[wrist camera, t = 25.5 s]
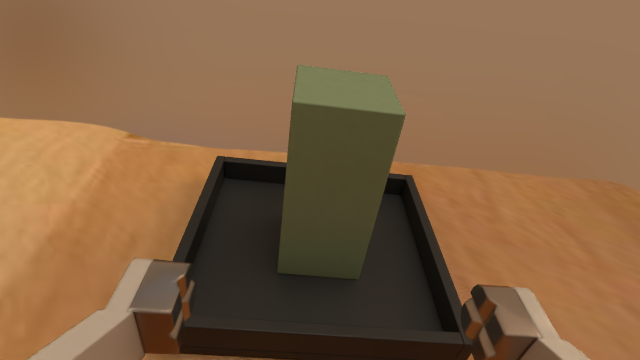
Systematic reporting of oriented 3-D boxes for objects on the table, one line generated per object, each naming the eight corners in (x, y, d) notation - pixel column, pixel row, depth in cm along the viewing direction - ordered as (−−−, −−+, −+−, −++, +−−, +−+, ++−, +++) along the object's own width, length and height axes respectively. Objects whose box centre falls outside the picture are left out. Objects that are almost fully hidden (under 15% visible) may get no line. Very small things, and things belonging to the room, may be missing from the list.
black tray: (152, 351, 16) (144, 324, 15) (218, 179, 27) (217, 155, 26) (460, 369, 17) (477, 345, 16) (404, 197, 28) (412, 175, 27)
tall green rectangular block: (277, 273, 20) (292, 101, 14) (283, 218, 23) (297, 64, 18) (358, 280, 20) (406, 114, 14) (352, 224, 24) (388, 75, 18)
